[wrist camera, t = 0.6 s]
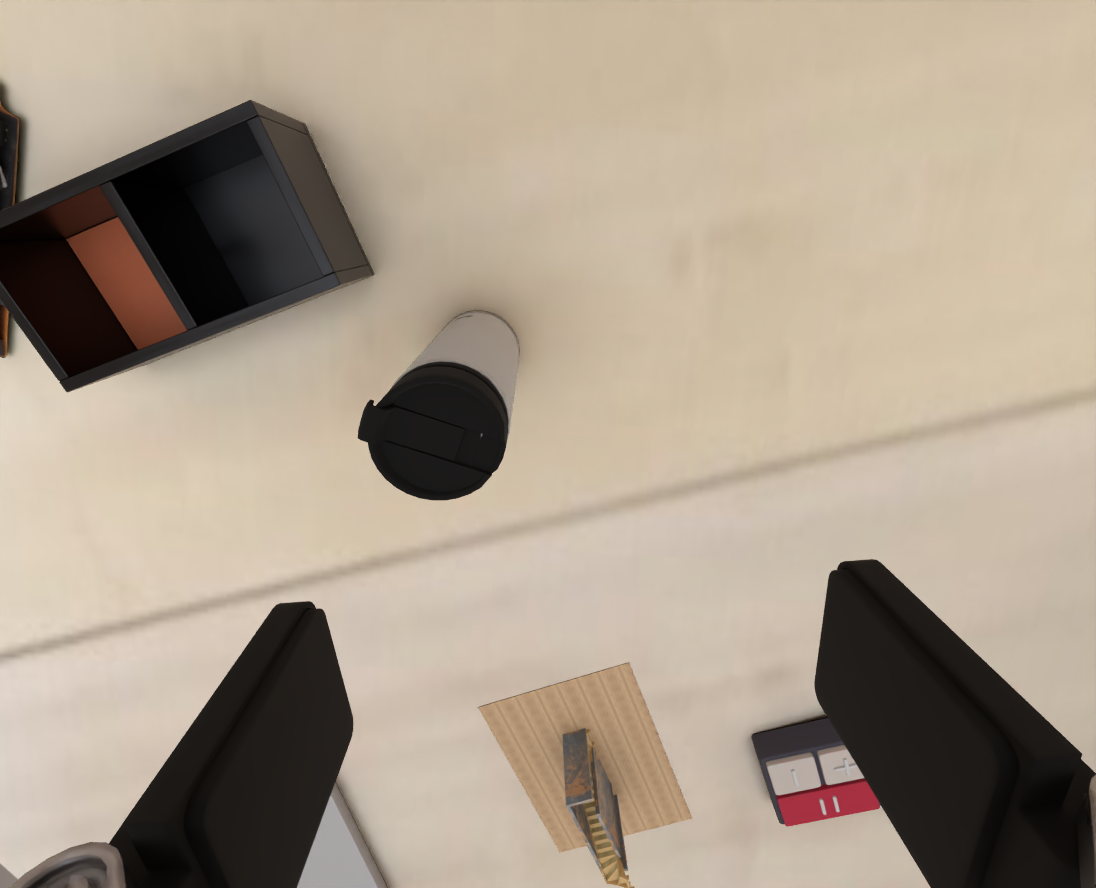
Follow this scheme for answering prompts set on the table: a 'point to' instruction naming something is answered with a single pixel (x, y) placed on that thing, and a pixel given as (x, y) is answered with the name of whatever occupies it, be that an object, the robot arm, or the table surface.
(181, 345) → the caddy
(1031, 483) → the table surface
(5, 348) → the mechanical keyboard
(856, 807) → the calculator
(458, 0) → the table surface
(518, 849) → the table surface
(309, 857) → the grey flat block
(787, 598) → the table surface
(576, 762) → the architectural model on board
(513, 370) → the travel mug
